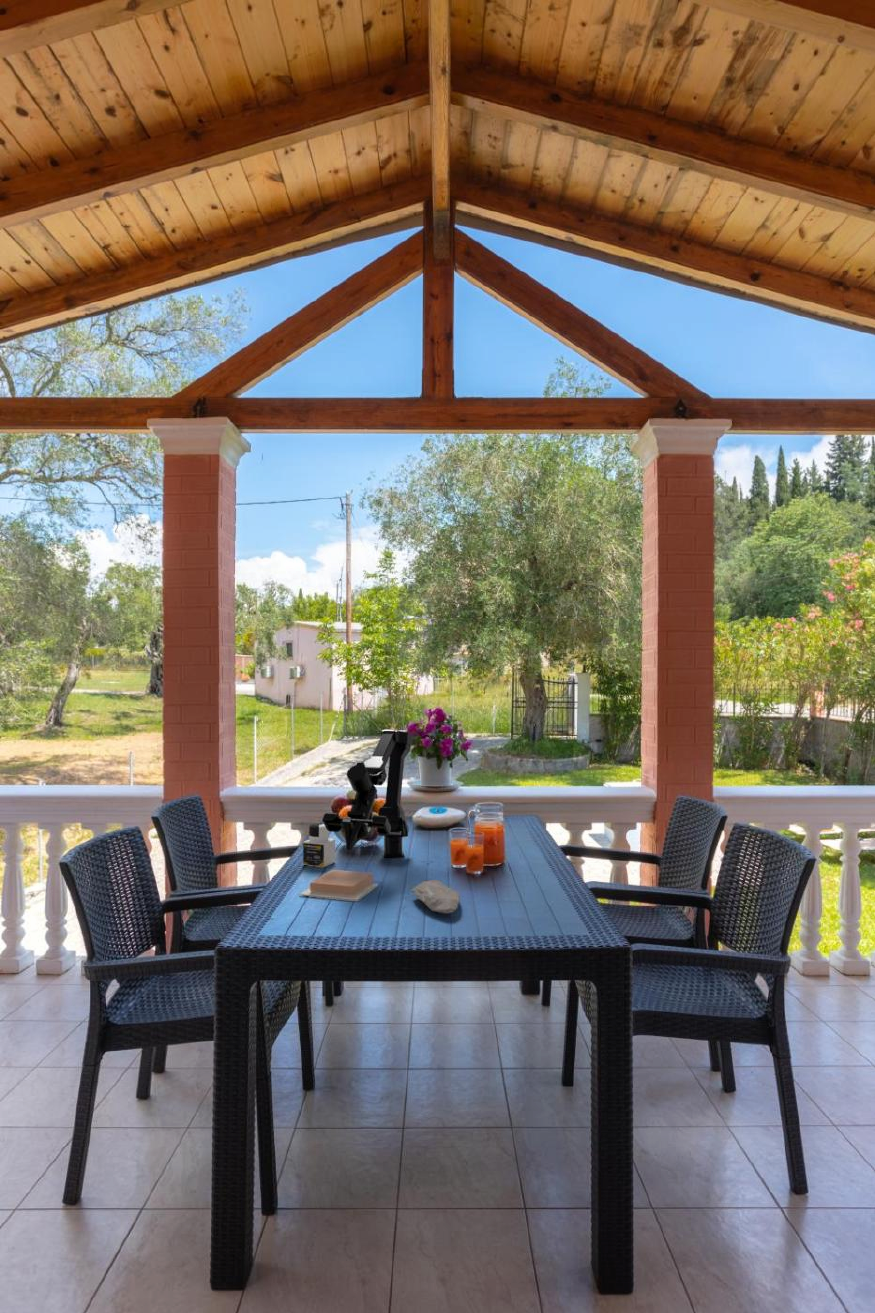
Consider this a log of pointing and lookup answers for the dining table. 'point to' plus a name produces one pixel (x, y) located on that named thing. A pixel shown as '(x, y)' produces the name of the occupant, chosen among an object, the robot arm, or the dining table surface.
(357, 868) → the dining table surface
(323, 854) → the medicine bottle
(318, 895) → the cream square plate
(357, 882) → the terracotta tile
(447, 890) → the stone tool
